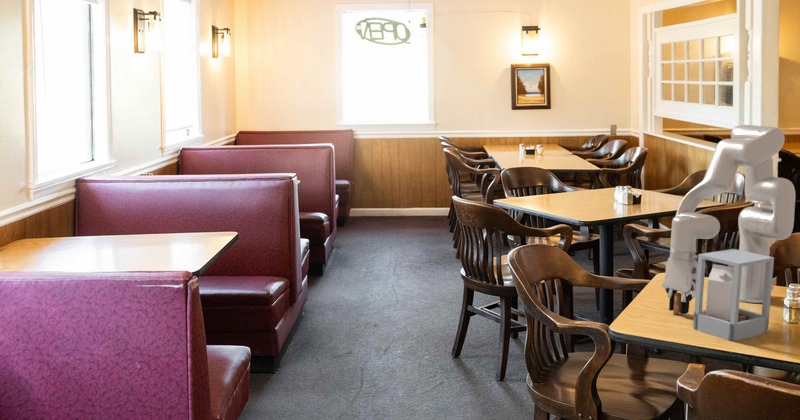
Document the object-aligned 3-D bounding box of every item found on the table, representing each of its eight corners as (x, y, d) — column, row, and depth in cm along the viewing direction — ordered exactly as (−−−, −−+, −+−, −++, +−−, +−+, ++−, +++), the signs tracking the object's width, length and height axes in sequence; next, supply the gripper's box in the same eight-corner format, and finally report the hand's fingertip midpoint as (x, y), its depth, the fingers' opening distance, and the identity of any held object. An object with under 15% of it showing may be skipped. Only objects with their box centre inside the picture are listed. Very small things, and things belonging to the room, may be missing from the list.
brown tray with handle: (686, 309, 274) (687, 290, 273) (747, 328, 255) (749, 307, 254) (661, 314, 269) (662, 295, 267) (722, 334, 249) (724, 313, 248)
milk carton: (712, 322, 262) (716, 262, 259) (736, 326, 257) (740, 265, 254) (704, 327, 256) (708, 266, 253) (728, 332, 252) (732, 270, 249)
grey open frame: (727, 320, 264) (733, 248, 260) (767, 333, 252) (774, 257, 248) (693, 328, 256) (698, 254, 252) (732, 341, 244) (739, 263, 240)
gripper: (712, 259, 262) (708, 316, 265) (669, 249, 276) (666, 303, 279) (696, 261, 258) (692, 320, 261) (653, 251, 272) (650, 306, 275)
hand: (678, 311), depth 270 cm, fingers closed on brown tray with handle, 3 cm apart
